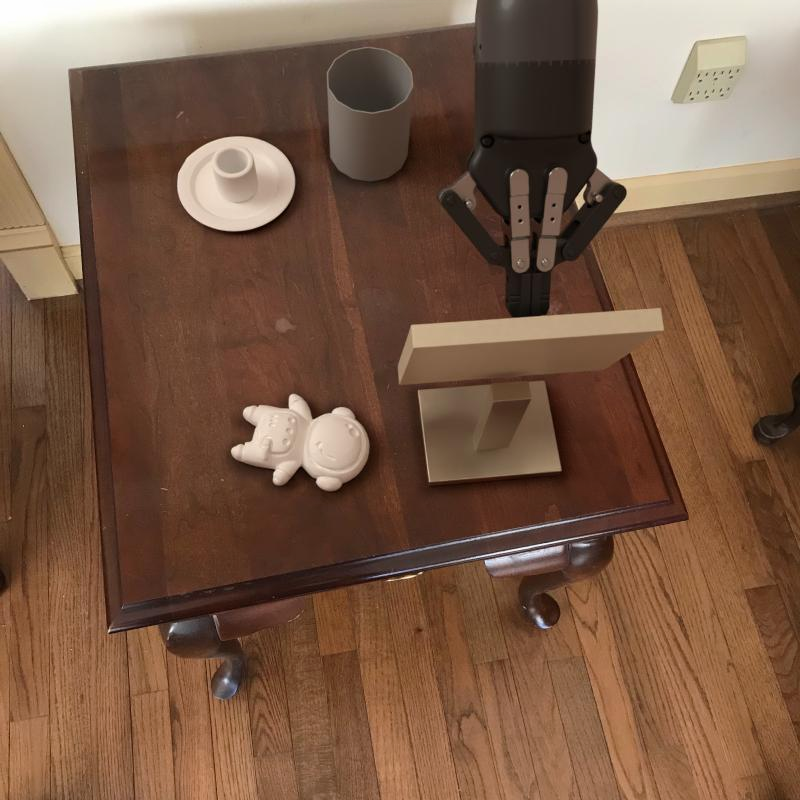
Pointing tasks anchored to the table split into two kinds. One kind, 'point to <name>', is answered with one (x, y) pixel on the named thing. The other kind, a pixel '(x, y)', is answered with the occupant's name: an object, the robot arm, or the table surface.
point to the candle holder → (236, 183)
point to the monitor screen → (524, 345)
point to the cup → (369, 112)
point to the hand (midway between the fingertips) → (527, 321)
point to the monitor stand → (487, 433)
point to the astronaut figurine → (305, 443)
